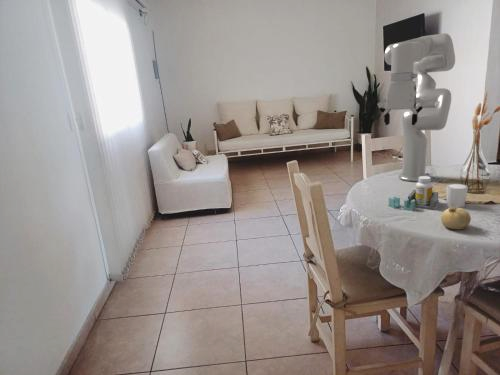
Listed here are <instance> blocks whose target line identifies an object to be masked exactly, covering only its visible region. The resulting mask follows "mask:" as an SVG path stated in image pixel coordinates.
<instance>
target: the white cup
mask: <svg viewBox="0 0 500 375" xmlns="http://www.w3.org/2000/svg"><path fill="white" fill-rule="evenodd" d="M445 187H446V189H445V192H446V195H445V196H446V205H447V206H448V207H451V206H453V207H457V208H462V207H465V205H466V199H467V196H468V195H467V194H468V189H469V186H468V185H466V184H463V183H447V184H446V186H445Z"/></svg>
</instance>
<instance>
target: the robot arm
mask: <svg viewBox="0 0 500 375" xmlns="http://www.w3.org/2000/svg"><path fill="white" fill-rule="evenodd" d="M383 56H384V62H385V63H386V64H387V65H389V66H391V67H390V70H391V71H390V82H389V83H388V87H387V92H386V98H385V99H383V100H381V101H379V102H377V106H378V107H377V108H378V109H379V111H380V112H381V113H382V114H383V118H384V120H383V122H384V125H385V126H388V125H390V122H391V121H390V120H391V116H390V115H391V114H390V112H391V111H392V110H395V111H396V110H398V111H399V110H405V111H404V112H403V114H402V116H401V118H402V119H401V121H402V130H403V149H402V150H403V151H402V152H403V153H402V173H399V174H398V179H399V180H401V181H405V182H419V180H418V179H419V177H420V176H428V177H430V176H429V174H427V173H426V167H427V152H428V151H427V148H428V147H427V146H428V139H427V137H426V135H425V134H424V132H423V131H441V130H443V129H444V128H445V127H446V125H447V122H448V117H449V115H450V114H449V112H450V109H451V104H452V93H451V91H450V89H448V88H444V87H442V88H441V87H440V88H436V87H437V83H436V81H435V79H434V78H433V77H432V76H431V75H430V74H428V73H438V72H439V73H440V72H449V71H451V70H452V69H453V68H454V66H455V64H456V54H455V48H454V44H453V39H452V36H451V35H449V34H448V33H438V34H436V33H435V34H431V35H423V36H420V37H417V38H416V37H415V38H412V39H408V40H404V41H400V42H399V41H398V42H396V43H391V44H389V45H388V46H386V48H385V51H384V55H383ZM384 104H385V106H386V108H385V107H384Z"/></svg>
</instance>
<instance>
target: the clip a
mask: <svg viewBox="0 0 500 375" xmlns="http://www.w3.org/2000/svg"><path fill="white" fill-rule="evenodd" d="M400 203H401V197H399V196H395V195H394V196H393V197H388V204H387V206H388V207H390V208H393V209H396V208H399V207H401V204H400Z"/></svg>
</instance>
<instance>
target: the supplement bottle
mask: <svg viewBox="0 0 500 375" xmlns="http://www.w3.org/2000/svg"><path fill="white" fill-rule="evenodd" d="M418 180H419V181H417V182H416V183H415V190H416V196H415V202H416V203H417V204H421V205H428V204H430V199H431V197H432V192H433V183H431V181H432V177H431V176H429V177H428V176H420V177H419V179H418Z"/></svg>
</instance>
